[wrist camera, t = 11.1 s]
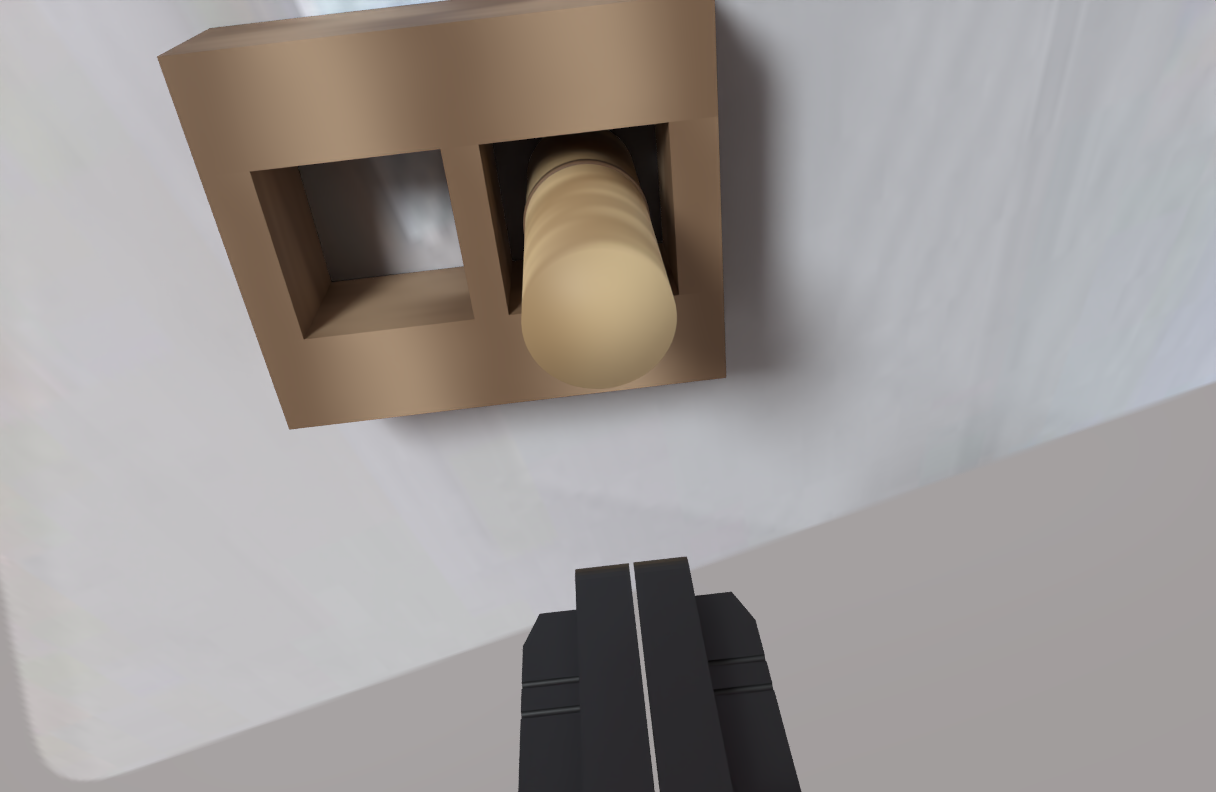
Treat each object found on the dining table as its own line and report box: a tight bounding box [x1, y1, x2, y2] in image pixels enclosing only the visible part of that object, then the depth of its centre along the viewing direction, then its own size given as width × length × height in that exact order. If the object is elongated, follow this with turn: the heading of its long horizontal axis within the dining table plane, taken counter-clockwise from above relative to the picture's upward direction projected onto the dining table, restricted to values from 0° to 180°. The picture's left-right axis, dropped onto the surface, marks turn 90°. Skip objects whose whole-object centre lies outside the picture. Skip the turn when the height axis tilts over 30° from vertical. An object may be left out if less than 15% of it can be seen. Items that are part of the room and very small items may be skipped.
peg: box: [521, 130, 677, 389], centre depth 23 cm, size 4×4×10 cm
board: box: [157, 0, 726, 429], centre depth 26 cm, size 14×11×4 cm
